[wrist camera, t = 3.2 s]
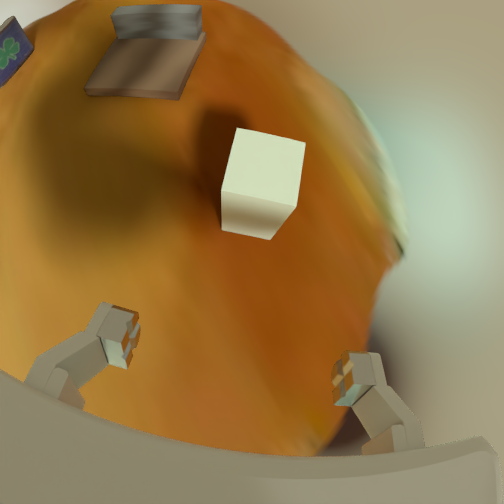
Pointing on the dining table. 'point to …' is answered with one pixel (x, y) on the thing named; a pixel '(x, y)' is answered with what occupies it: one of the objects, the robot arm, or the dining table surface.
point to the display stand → (150, 52)
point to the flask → (12, 49)
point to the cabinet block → (260, 183)
